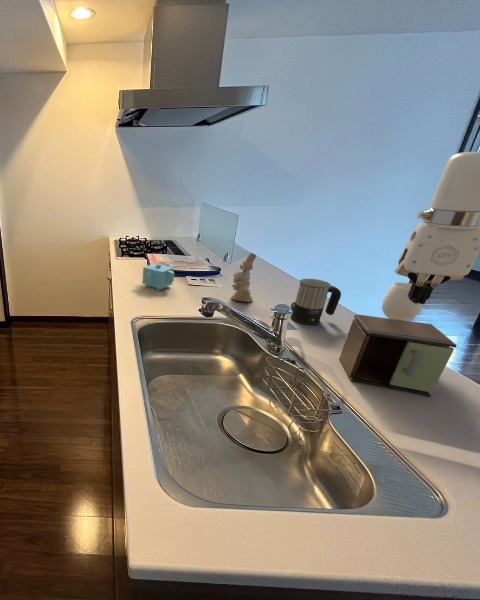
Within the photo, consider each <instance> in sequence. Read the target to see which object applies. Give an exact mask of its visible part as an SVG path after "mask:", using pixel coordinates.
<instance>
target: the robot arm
mask: <svg viewBox="0 0 480 600" xmlns="http://www.w3.org/2000/svg"><path fill="white" fill-rule="evenodd" d="M416 218H417V219H421V220H422V221H423V222H419V223H418V224H417V225H416V227H415V228H414V230H413V231H412V233H411V235H410V236H409V238H408V240H407V241H406V243H405V245H404V247H403V249H402V251H401V253H400V256H399V259H398V261H397V262H398V263H397V264H398V266H397V267H396V268H395V270H394V273H395V274H396V275H399V276H403V277H407V278H408V279H409V281H410V282H411V284H412V286H411V288H410V291H409V293H408V297H409V300H411V301H412V302H413V303H416V304H418V303H420V304H423V305H425V304H426V303H427V301H428V300H429V299H430V298H431V294H432V293H433V291H434V289H435V288H438V287H440V286H439V285H441V284H444V283H446V282H448V281H449V282H450V281H460V280H463V279H464V277H465V276H467V275H468V274H469V273H470V272H471V270H472V269H473V267H474V264H475V261H476V259H477V256H478V253H479V250H480V226H479V225H480V151H465V152H464V151H463V152H458V153H454V154H453V155H452V156H451V157H449V159H448V160H447V162H446V164H445V167H444V169H443V172H442V174H441V177H440V179H439V182H438V185H437V187H436V190H435V192H434V194H433V197H432V199H431V201H430V205H429V207H428V208H427V209H426V210H424V211H418V213H417V215H416Z"/></svg>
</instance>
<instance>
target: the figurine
mask: <svg viewBox="0 0 480 600" xmlns="http://www.w3.org/2000/svg"><path fill="white" fill-rule="evenodd" d="M256 257H257V254H255V253H253V252H249V254H248V255H247V257H246V258H245V259H244V260H243V261H242V263H240V264H239V269H240V270H242V272H241V271H239V270H237V271H236V272H235V273H234V274H233V280H232V282H233V284H232V285H231V287H232V289H233V291H234V293H233V294H232V295H231V296H230V299H231V300H233V301H235V302H236V301H237V302H245V303H251V302H254V299H253V297H252V296H251V289H250V285H251V284H252V283H251V282H250V280H251V272H250V271H252V270H253V269H254V265H253V263H254V262H255V259H256Z"/></svg>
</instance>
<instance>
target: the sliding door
mask: <svg viewBox="0 0 480 600" xmlns="http://www.w3.org/2000/svg"><path fill="white" fill-rule="evenodd" d="M454 351H455V348H454V347H445V346H438V345H431V344H425V343H418V342H411V341H408V342H407V344H406V347H405V349H404V351H403V353H402V356H401V358H400V360H399V362H398V365H397V367H396V369H395V371H394V374H393V376H392V378H391V380H390V385H394V386H399V387H405V388H410V389H415V390H420V391H426V392H430V394H431V393H433V391H434V390H435V387H436V385H437V384H438V382H439V380H440V378H441V376H442V374H443V372H444V370H445V368H446V367H447V364H448V362H449V360H450V359H451V357H452V355H453V354H454V353H453V352H454Z"/></svg>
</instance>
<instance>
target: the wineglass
mask: <svg viewBox="0 0 480 600" xmlns="http://www.w3.org/2000/svg"><path fill="white" fill-rule="evenodd" d="M411 286H412V283H410V282H401V281H400V282H394V283H393V284H392V285H391V286H390V288H389V289H388V290H387V292H386V294H385V296H384V297H383V300H382V304H381V310H382V312H383V314H384V316H385V317H386V318H388V319H396V320H404V321H411V320H412V319H414V318H416V317H417V316H418V315H419V313H420V312H421V310H422V308H423V306H424V304H420V303H418V304H416V303H413V302H412V301H411V300H409V297H408V293H409V291H410V288H411Z"/></svg>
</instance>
